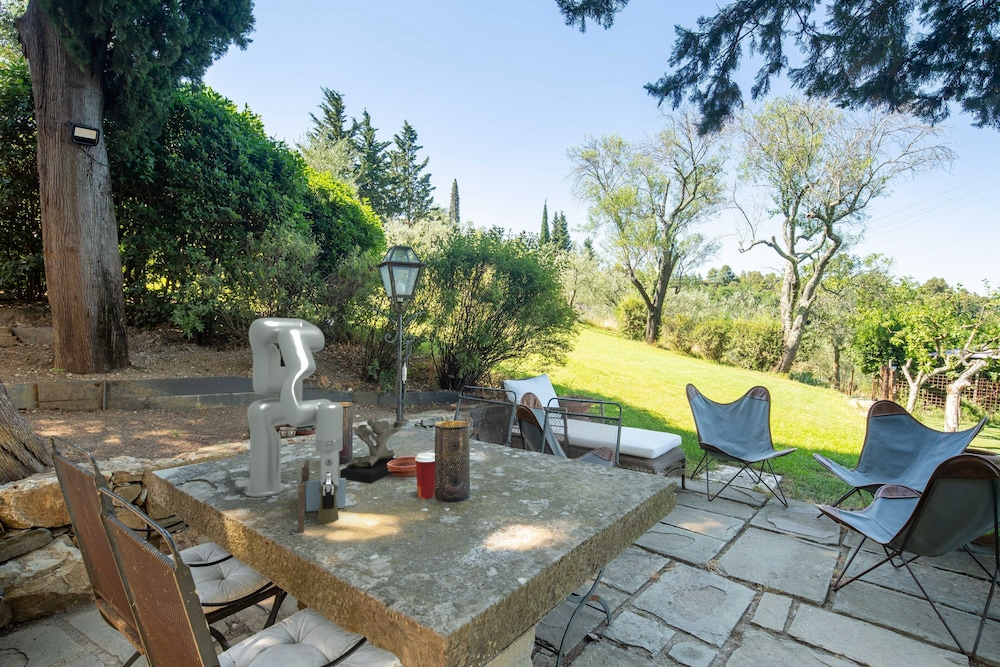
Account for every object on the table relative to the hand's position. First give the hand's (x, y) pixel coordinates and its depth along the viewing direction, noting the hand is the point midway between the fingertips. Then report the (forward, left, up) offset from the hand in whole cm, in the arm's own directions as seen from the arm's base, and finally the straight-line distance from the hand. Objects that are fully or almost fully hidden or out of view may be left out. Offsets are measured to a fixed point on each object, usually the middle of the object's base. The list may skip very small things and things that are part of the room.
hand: (328, 502), depth 141 cm
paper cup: (+31, +12, -5) cm, 34 cm away
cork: (0, 0, -5) cm, 5 cm away
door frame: (-7, +6, -5) cm, 10 cm away
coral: (+19, +42, -5) cm, 46 cm away
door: (-1, +8, -4) cm, 9 cm away
